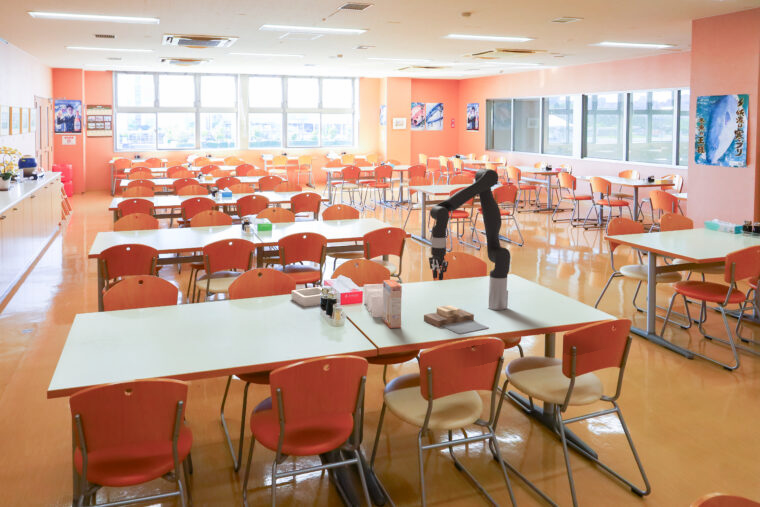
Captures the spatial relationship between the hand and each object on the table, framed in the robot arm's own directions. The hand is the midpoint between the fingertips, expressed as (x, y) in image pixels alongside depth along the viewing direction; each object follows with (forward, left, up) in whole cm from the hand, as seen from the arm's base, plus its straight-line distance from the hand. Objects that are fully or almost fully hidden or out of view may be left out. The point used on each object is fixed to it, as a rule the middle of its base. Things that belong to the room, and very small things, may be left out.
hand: (437, 278), depth 327 cm
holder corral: (+44, -57, -19) cm, 75 cm away
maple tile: (0, +9, -16) cm, 19 cm away
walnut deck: (0, +10, -19) cm, 22 cm away
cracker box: (+28, +1, -19) cm, 34 cm away
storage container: (+21, -24, -20) cm, 37 cm away
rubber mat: (0, +22, -19) cm, 30 cm away
